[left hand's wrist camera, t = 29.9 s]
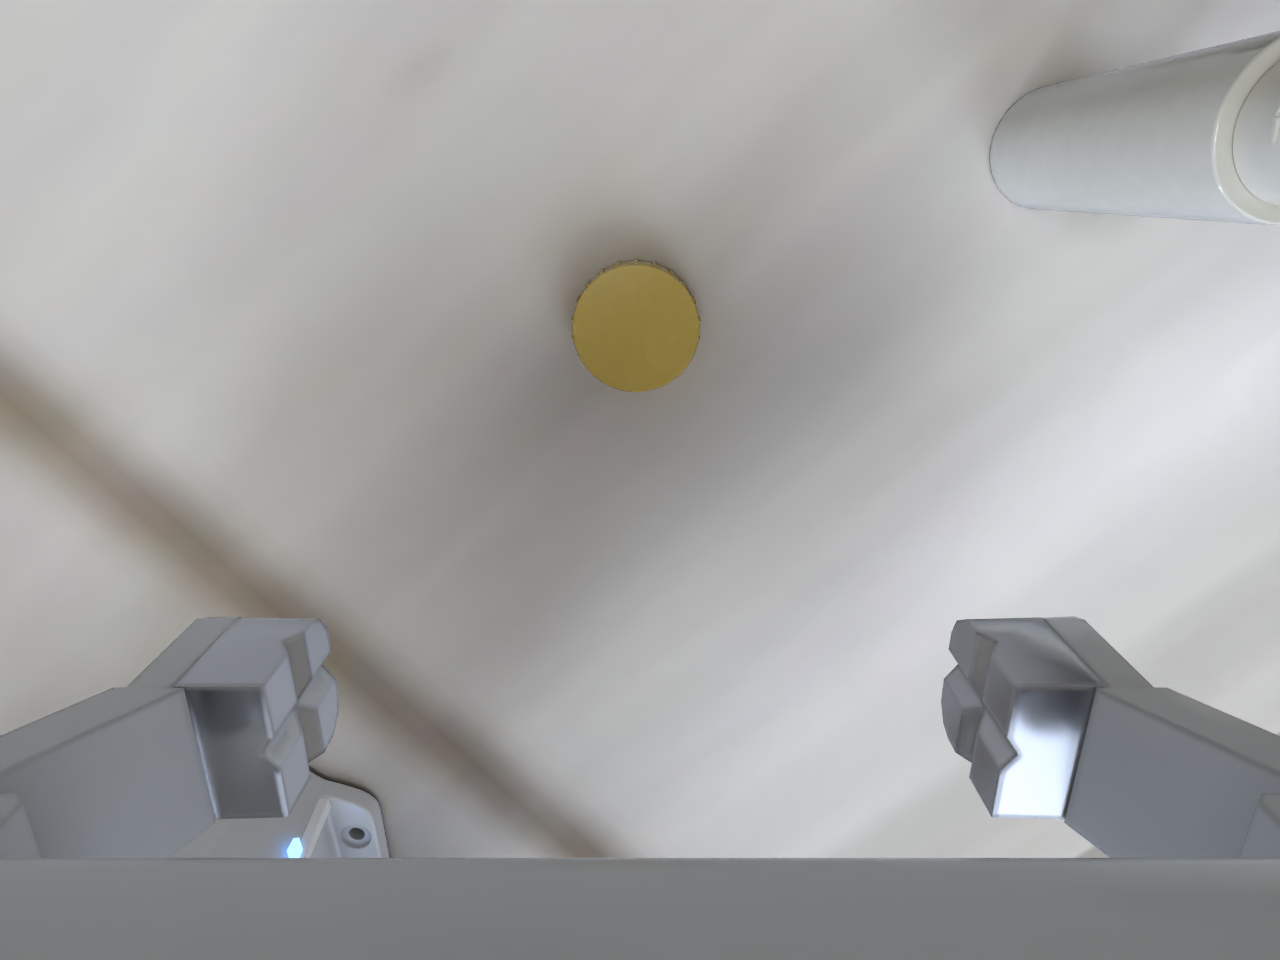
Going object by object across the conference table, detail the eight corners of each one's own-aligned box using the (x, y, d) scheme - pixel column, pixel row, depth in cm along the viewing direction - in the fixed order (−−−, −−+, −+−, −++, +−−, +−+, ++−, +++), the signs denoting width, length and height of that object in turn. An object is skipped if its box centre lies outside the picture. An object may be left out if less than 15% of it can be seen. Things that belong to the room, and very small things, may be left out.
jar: (1112, 79, 32) (1502, -6, 18) (1098, 204, 34) (1444, 220, 19) (993, 90, 32) (1282, 15, 18) (985, 214, 34) (1243, 237, 19)
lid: (617, 405, 37) (616, 416, 35) (550, 302, 35) (545, 309, 33) (720, 342, 36) (724, 350, 34) (655, 233, 34) (656, 236, 32)
